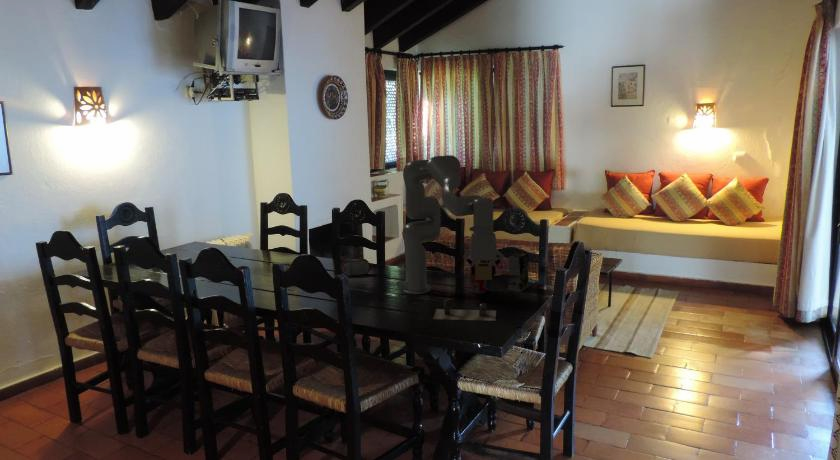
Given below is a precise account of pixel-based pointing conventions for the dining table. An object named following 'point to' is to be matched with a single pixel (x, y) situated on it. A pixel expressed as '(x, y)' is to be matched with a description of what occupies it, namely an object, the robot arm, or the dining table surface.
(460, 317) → the board
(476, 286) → the soda can
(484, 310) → the hub
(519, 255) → the coffee box
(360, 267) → the tin
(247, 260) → the dining table surface
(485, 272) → the collar
